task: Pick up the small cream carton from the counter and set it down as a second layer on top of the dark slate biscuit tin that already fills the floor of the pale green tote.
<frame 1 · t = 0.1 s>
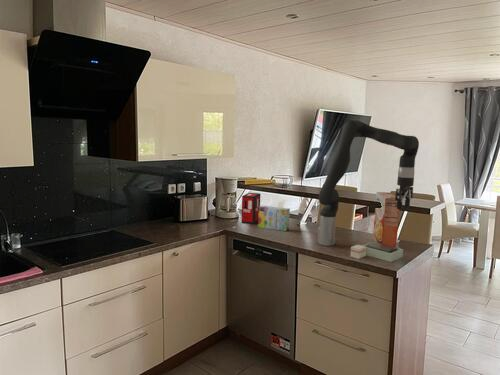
hand: (403, 208, 191), 29 cm above the countertop, fingers open, 8 cm apart
snack box: (273, 228, 261), on the countertop
cleaning product box: (250, 221, 280), on the countertop
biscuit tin: (381, 255, 206), point 1 cm above the countertop, touching tote
pasta box: (383, 244, 230), on the countertop
cream carton: (358, 257, 203), on the countertop
tote: (380, 256, 206), on the countertop
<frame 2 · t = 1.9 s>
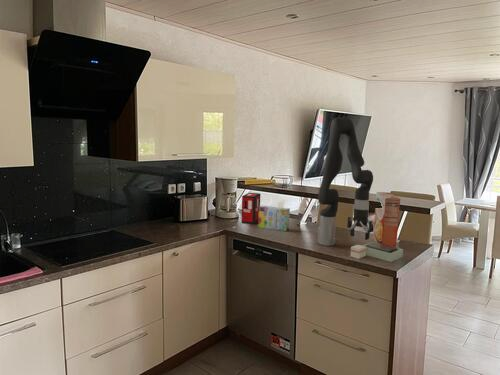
hand: (359, 237, 201), 11 cm above the countertop, fingers open, 8 cm apart
nothing on the countertop moved.
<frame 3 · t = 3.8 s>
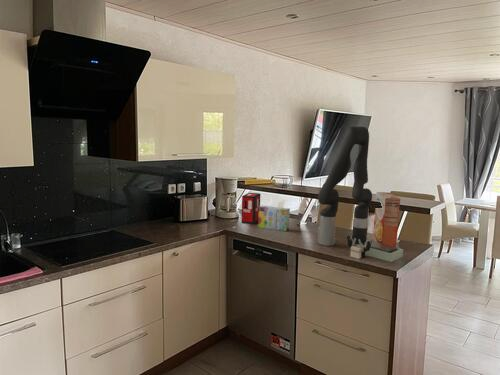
hand: (358, 256, 203), 0 cm above the countertop, fingers closed on cream carton, 5 cm apart
cream carton: (357, 257, 203), on the countertop, touching gripper
everything else where it was.
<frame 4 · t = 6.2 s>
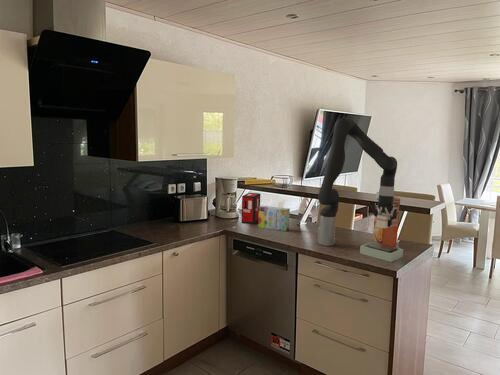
hand: (384, 225, 203), 17 cm above the countertop, fingers closed on cream carton, 5 cm apart
cream carton: (383, 226, 203), point 17 cm above the countertop, touching gripper
everything else where it was.
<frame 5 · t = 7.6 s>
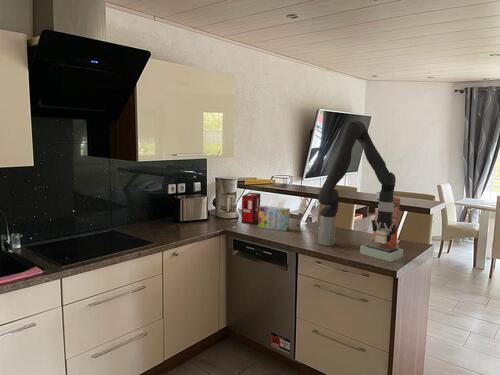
hand: (383, 240, 204), 9 cm above the countertop, fingers closed on cream carton, 5 cm apart
cream carton: (382, 241, 204), point 9 cm above the countertop, touching gripper
everything else where it was.
when the fingers open (8 cm above the countertop, at t = 8.8 s): cream carton drops 1 cm, resting on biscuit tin.
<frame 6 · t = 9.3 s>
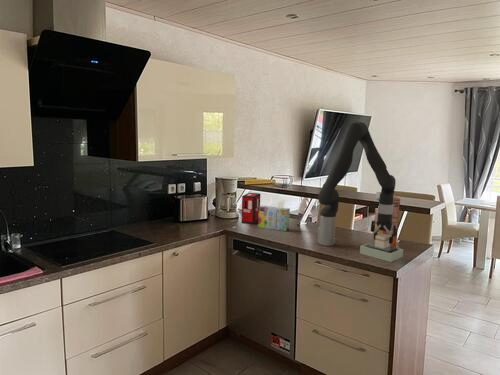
hand: (382, 241, 204), 8 cm above the countertop, fingers open, 8 cm apart
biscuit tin: (381, 255, 206), point 1 cm above the countertop, touching cream carton, tote
cream carton: (382, 246, 205), point 6 cm above the countertop, touching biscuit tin
everything else where it was.
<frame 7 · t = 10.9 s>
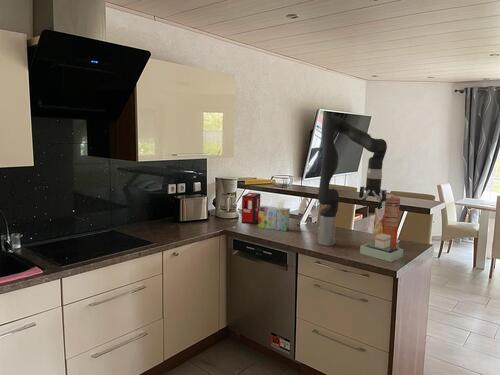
hand: (371, 207, 201), 27 cm above the countertop, fingers open, 8 cm apart
nothing on the countertop moved.
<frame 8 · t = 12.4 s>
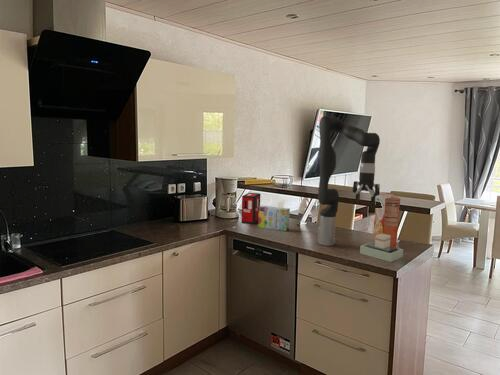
hand: (365, 202, 199), 30 cm above the countertop, fingers open, 8 cm apart
nothing on the countertop moved.
at the end: cream carton inside the target area on the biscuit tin (0.1 cm from its centre), point 5.0 cm above the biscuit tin's base; cream carton tilted 0°; the gripper is holding nothing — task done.
